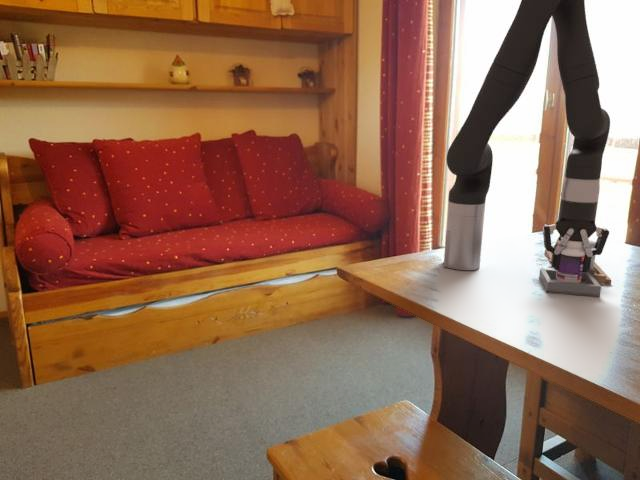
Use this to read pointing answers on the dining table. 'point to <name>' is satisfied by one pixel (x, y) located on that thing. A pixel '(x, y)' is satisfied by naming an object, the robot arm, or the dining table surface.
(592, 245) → the block
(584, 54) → the robot arm
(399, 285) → the dining table surface
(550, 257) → the brown wooden flat rack
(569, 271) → the pill bottle
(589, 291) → the tray
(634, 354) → the dining table surface
